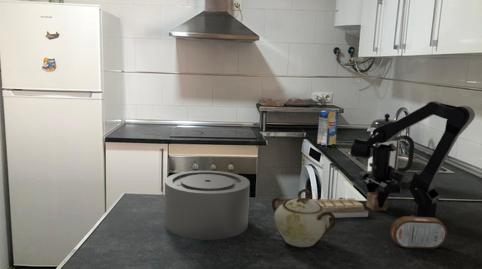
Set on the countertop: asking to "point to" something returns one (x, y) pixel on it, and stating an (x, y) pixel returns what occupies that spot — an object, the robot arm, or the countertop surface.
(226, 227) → the container
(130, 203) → the countertop surface
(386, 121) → the coffee press
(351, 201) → the pallet
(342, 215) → the dock
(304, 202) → the sugar bowl
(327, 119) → the beverage box
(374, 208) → the brown wooden cube
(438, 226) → the tin
